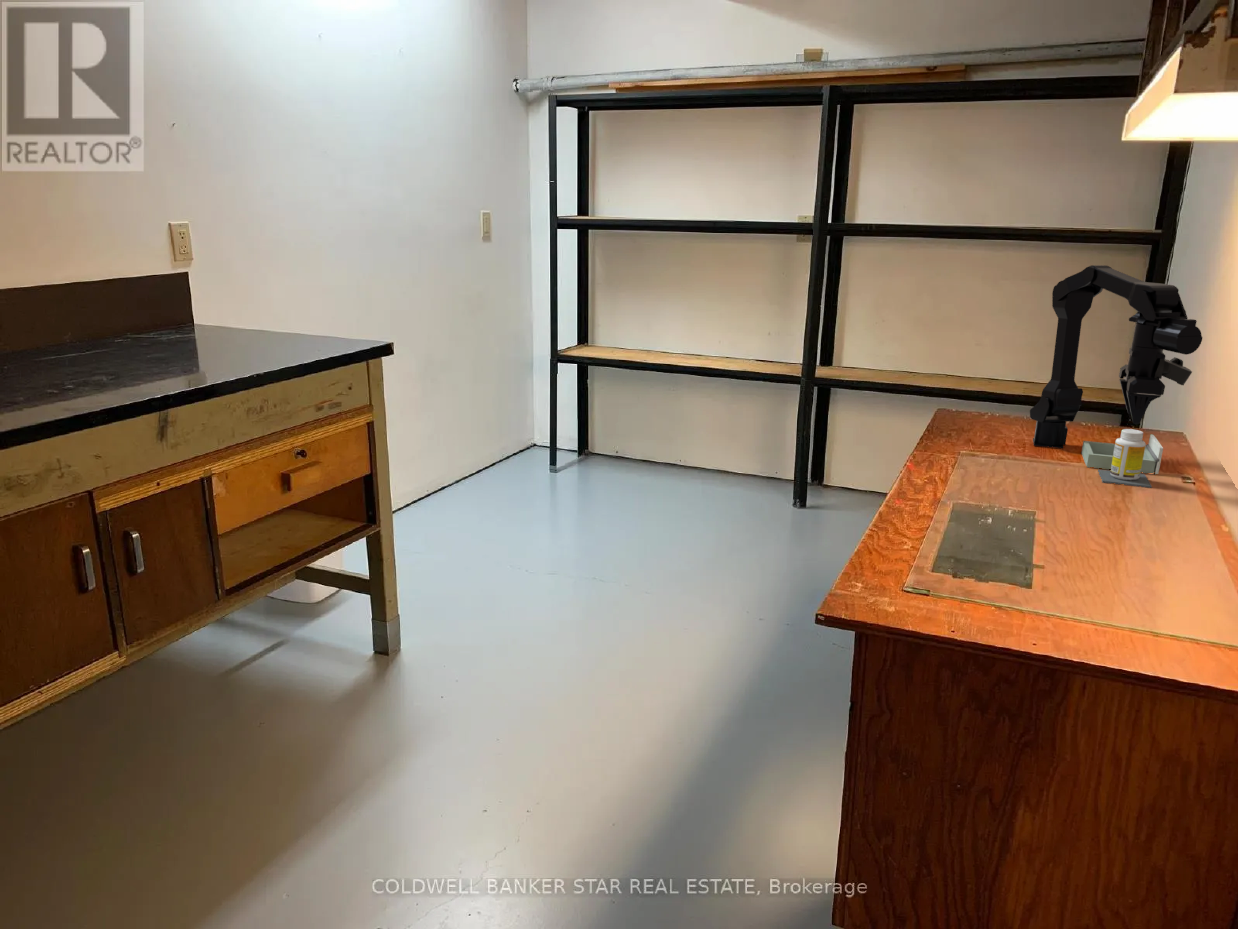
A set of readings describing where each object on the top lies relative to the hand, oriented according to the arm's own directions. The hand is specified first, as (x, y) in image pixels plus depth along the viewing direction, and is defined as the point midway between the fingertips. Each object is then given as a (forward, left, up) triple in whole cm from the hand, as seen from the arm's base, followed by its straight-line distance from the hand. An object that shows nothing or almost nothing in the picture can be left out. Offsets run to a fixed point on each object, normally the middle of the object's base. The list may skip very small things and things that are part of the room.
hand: (1133, 418), depth 183 cm
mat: (0, -4, -13) cm, 13 cm away
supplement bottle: (0, -3, -12) cm, 13 cm away
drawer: (0, +10, -13) cm, 16 cm away
